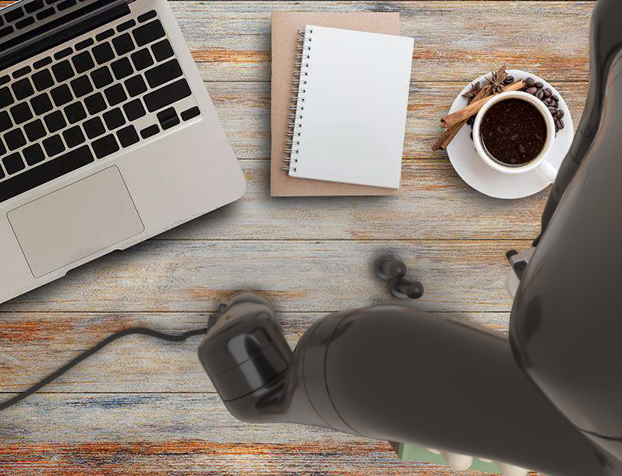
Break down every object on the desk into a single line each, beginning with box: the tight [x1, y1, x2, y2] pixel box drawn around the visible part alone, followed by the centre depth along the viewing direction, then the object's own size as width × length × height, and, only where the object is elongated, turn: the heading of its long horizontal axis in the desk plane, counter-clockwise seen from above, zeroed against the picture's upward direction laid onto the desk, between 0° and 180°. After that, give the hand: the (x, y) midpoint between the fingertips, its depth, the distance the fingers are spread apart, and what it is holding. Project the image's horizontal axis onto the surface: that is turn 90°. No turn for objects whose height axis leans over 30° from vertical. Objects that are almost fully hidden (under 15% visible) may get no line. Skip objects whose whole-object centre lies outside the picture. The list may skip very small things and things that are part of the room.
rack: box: [397, 443, 529, 476], centre depth 62 cm, size 14×16×9 cm
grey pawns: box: [373, 254, 425, 300], centre depth 83 cm, size 7×6×8 cm
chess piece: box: [504, 267, 520, 300], centre depth 63 cm, size 5×5×10 cm
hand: (547, 304), depth 64 cm, fingers closed on chess piece
